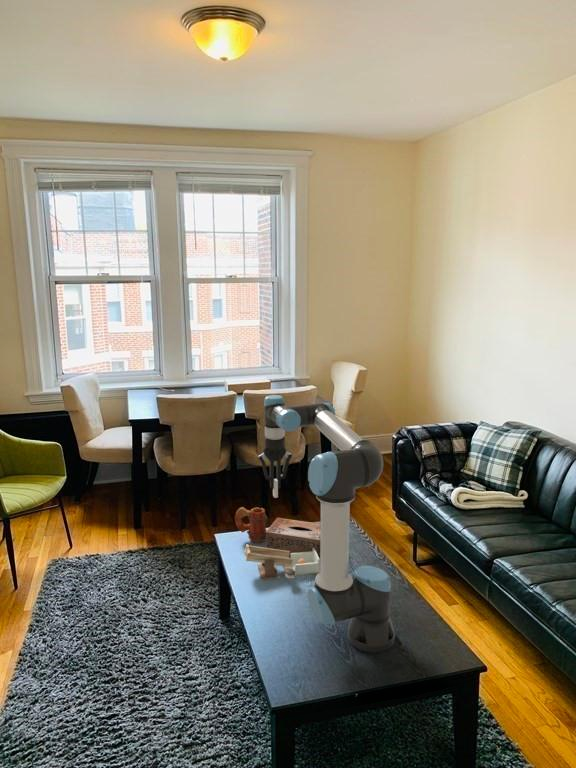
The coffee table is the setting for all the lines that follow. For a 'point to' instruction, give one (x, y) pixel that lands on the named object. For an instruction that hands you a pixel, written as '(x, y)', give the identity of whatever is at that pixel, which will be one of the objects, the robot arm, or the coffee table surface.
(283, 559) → the lever
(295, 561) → the bin
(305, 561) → the ball
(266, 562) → the fulcrum
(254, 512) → the mug
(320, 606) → the robot arm
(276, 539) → the tissue box cover
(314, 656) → the coffee table surface
